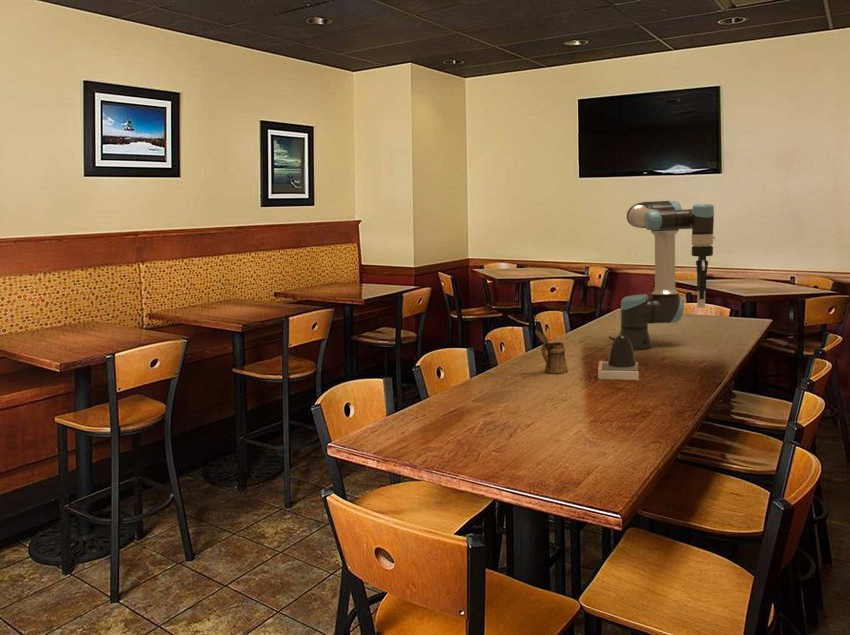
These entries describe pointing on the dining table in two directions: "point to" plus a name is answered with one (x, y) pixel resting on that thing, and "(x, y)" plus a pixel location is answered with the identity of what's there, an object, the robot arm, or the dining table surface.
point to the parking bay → (617, 372)
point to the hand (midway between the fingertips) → (701, 307)
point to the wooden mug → (553, 355)
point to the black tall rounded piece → (621, 354)
